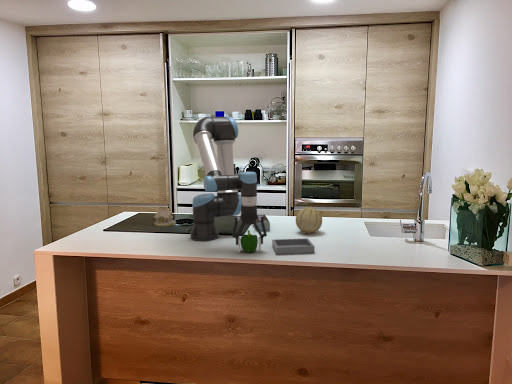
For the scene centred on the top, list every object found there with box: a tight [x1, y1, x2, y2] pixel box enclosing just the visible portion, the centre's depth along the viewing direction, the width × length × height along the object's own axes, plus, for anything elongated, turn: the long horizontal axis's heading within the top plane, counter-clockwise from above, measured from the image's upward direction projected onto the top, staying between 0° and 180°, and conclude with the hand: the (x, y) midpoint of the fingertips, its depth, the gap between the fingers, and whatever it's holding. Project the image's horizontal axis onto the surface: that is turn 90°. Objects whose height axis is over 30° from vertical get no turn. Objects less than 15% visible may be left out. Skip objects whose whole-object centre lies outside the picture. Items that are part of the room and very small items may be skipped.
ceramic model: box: [153, 208, 177, 227], centre depth 253 cm, size 14×11×10 cm
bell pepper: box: [240, 229, 259, 254], centre depth 195 cm, size 8×8×10 cm
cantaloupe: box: [295, 205, 323, 234], centre depth 229 cm, size 15×15×15 cm
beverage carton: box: [253, 214, 271, 233], centre depth 242 cm, size 8×19×7 cm, turn 7°
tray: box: [271, 238, 315, 256], centre depth 198 cm, size 18×14×4 cm
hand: (249, 251), depth 196 cm, fingers open, 9 cm apart
